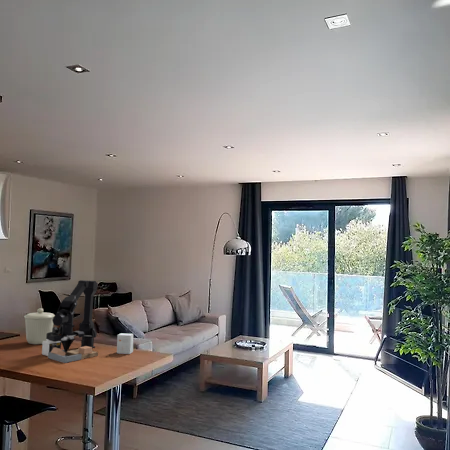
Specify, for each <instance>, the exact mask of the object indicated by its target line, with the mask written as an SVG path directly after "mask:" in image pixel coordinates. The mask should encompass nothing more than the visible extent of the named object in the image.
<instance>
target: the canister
mask: <svg viewBox="0 0 450 450" xmlns="http://www.w3.org/2000/svg"><path fill="white" fill-rule="evenodd" d="M36 311H37V312H30V313H27V314H26V315H24V316H23V318H24V321H25V336H26V342H27V343H28V344H29V345H42V344H43V341H47V340H46V334H47V333H49V332H52V328H53V327H54V324H53V321H52V320H53V317H54V316H55V315H56V314H54V313H51V312H44V308H42V307H40V308H38V309H37V310H36Z"/></svg>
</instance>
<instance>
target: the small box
mask: <svg viewBox="0 0 450 450" xmlns="http://www.w3.org/2000/svg"><path fill="white" fill-rule="evenodd" d="M116 336H117V339H116V354H123V355H124V354H125V355H131V354H132V353H134V333H122V332H121V333H119V334H117V335H116Z"/></svg>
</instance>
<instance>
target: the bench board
mask: <svg viewBox="0 0 450 450" xmlns="http://www.w3.org/2000/svg"><path fill="white" fill-rule="evenodd" d="M65 353H66V354H65V355H68V356H72V355H77V354H80V353H79V348H78V349H71V350H68V351H67V352H65ZM94 356H95V357H98V356H99V352H98V351H94V350H92V353H89V354H82V355H81V360H83V359H84V358H85V359H90V358H95V357H94ZM89 357H90V358H89Z"/></svg>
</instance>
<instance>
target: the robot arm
mask: <svg viewBox="0 0 450 450" xmlns="http://www.w3.org/2000/svg"><path fill="white" fill-rule="evenodd" d="M98 287H99V284H98V282H97V281H96V280H84V279H83V280H82V279H80V280H78V282H77V285H76V286H75V287H74V289H73V290H72V292H71V293H70V294H69V295H68V296H66V297H64V299H62V300H61V302H60V304H59V307H58V309H57V311H56V313H55V314H54V315H55V316H54V317H53V320H52V321H53V328H52V333H55V334H53V335H50V336H49V338H48V340H50V341H61V346H62V347H63V350H64V351H65V352H67V351H69V349H70V348H71V346H72V344H73V343H74V341H76V338H75V337H79V338H81V343H80V346H79V347H84V346H88V347H92V349H94V348H96V346H95V345H94V344H95V343H94V341H95V338H96V337H97V334H98V333H97V330H96V328H95V323H94V321H93V310H94V308H93V307H94V304H93V303H94V296H95V294H96V293H97V291H98ZM82 294H84V303H83V304H84V306H83V318H82V321H81V322H80V323H79V325H78V326H79V328H78V330H75V331H74V329H73V328H75V324H74V314H76V312H75V310H76V308H77V306H78V301H79V298H80V297H81V296H82ZM58 326H59V327H58Z"/></svg>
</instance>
